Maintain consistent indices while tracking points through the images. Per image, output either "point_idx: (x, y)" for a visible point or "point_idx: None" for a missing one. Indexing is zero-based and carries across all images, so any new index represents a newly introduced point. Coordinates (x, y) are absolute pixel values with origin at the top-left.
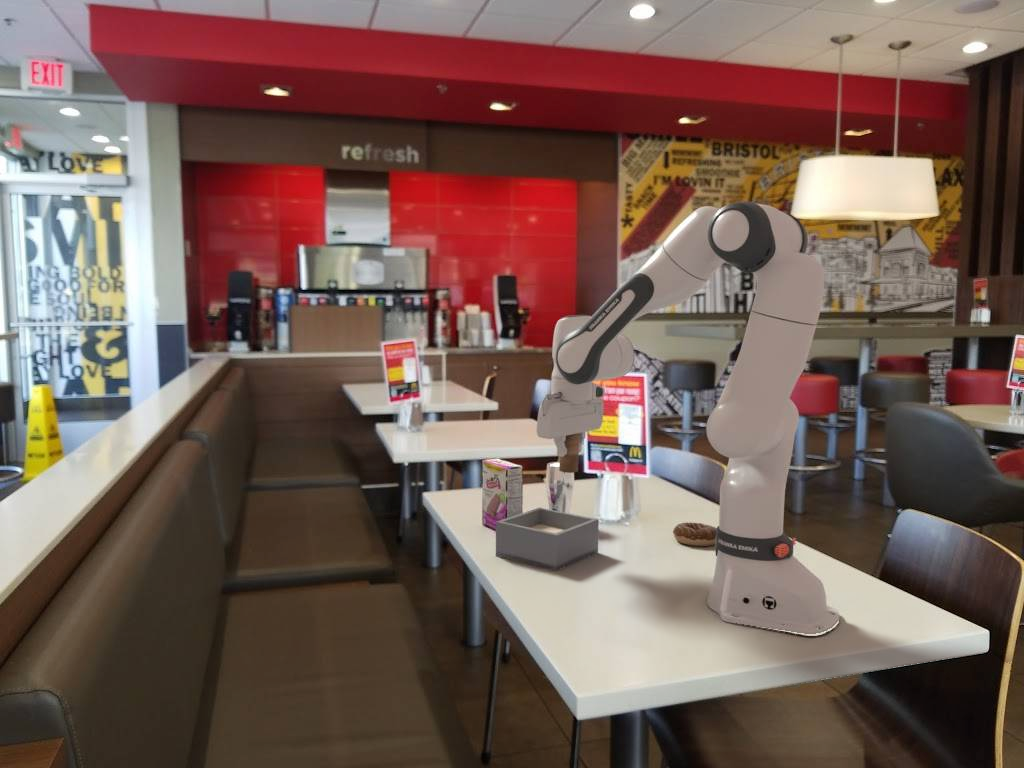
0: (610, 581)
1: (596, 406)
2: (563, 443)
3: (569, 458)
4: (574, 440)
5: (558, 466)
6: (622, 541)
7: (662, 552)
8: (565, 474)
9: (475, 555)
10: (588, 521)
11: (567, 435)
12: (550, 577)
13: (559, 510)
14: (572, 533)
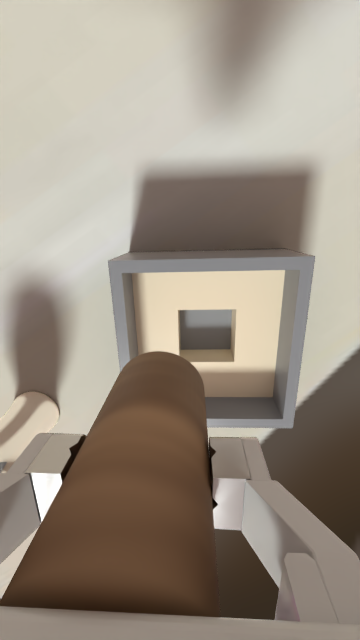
0: (275, 112)
1: None
2: (309, 526)
3: (195, 412)
4: (157, 513)
5: None
6: (28, 256)
7: (20, 135)
8: None
9: None
10: (145, 269)
11: (316, 623)
12: (323, 235)
13: (34, 422)
14: (237, 256)
